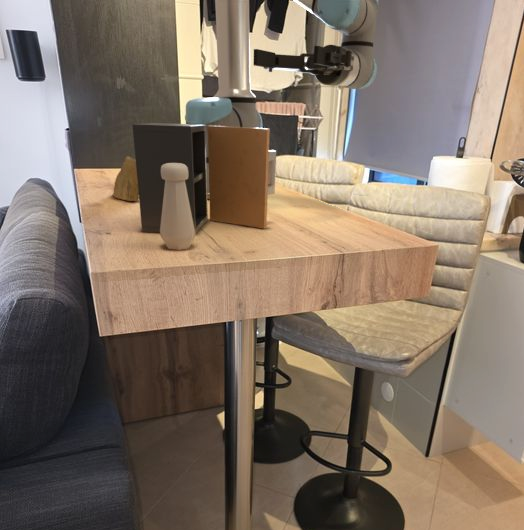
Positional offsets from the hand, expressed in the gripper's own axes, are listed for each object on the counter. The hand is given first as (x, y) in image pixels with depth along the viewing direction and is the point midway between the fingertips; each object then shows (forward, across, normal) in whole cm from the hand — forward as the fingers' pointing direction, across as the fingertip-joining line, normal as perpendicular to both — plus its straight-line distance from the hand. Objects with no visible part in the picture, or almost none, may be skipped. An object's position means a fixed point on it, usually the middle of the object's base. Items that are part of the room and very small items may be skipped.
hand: (284, 56), depth 86 cm
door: (+8, +3, -30) cm, 31 cm away
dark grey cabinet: (+20, +10, -30) cm, 38 cm away
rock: (+7, +41, -30) cm, 52 cm away
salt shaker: (+31, -1, -30) cm, 44 cm away
